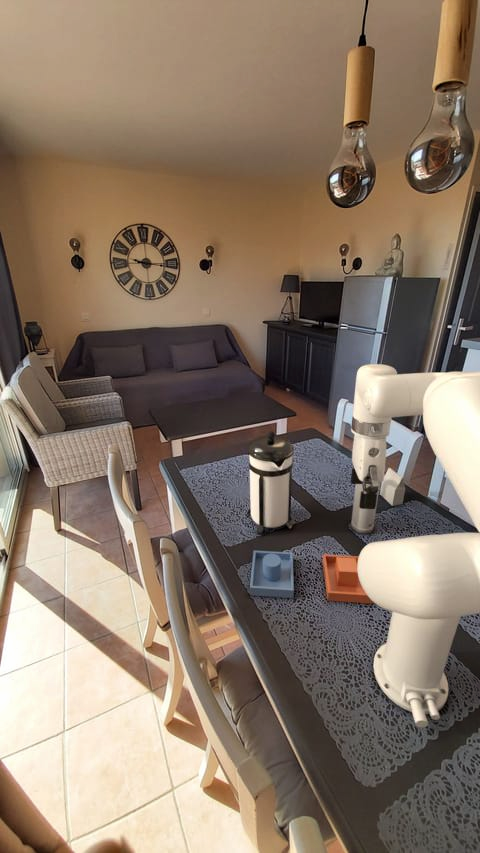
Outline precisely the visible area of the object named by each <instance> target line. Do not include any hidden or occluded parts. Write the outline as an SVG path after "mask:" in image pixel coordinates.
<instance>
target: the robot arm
mask: <svg viewBox="0 0 480 853" xmlns="http://www.w3.org/2000/svg"><path fill="white" fill-rule="evenodd" d="M412 416H422V424H423V428H424V432H425V435H426V438H427V440H428V442H429V445H430V447H431V449H432V451H433V453H434V455H435V457H436V458H437V460H438V462H439V464H440V465H441V467H442V469H443V471H444V473H445V474H446V476H447V478H448V480H449V481H450V483H451V485H452V487H453V488H454V490H455V492H456V494H457V496H458V498H459V499H460V501H461V503H462V504H463V506H464V509H465V510H466V512H467V513H468V515H469V517H470V519H471V522H472V523H473V524H474V526H475V528H476V530H477V531H478V532H452V533H444V534H427V535H419V536H410V537H404V538H396V539H389V540H387V539H386V540H379V541H372V542H369V543H368V544H366V545H365V546H364V547H363V548H362V549H361V551H360V553H359V555H358V556H359V558H358V563H357V572H358V577H359V581H360V583H361V586H362V588H363V590H364V591H365V593H366V594H367V595H368V597H369V598H370V599H371V600H372V601H373V602H374V603H373V604H375V605H376V606H378V607H380V608H382V609H384V610H386V611H390V612H391V619H390V621H389V628H388V632H387V633H388V634H387V637H386V643H383V644H382V645H381V646H379V648H377V650H376V652H375V654H374V657H373V664H372V665H373V666H372V667H373V674H374V677H375V680H376V682H377V684H378V685H379V688H380V689H381V690H382V692H383V693H384V695H386V697H387V698H388V699H389V700H391V702H393V703H394V704H395V705H397V706H398V707H400V708H401V709H403V710H405V711H408V712H411V713H412V717H413V720H414V723H415V726H416V727H418V728H420V729H421V728H423V729H424V728H426V727H428V726H429V722H428V719H427V715H429V716H430V718H431V719H432V720H434V721H437V720H439V719H441V716H440V713H439V711H440V710H441V709H442V708H443V707H444V706H445V704H446V702H447V699H448V697H449V682H448V679H447V675H446V674H445V668H446V664H447V661H448V658H449V655H450V651H451V649H452V648H451V647H452V645H453V641H454V638H455V635H456V632H457V629H458V627H459V626H458V625H459V623H460V621H461V618H462V617H464V616H472V615H477V614H480V371H448V372H415V373H399V374H398V372H397V370H396V369H395V367H393V366H390V365H387V364H381V363H370V364H364V365H361V366H360V367H359V368H358V369H357V372H356V376H355V387H354V396H353V406H352V416H351V417H352V418H351V427H350V431H351V433H352V434H353V435H354V436H353V443H352V452H351V461H352V468H351V475H350V484H352V485H356V484H362V487H363V491H361V496H360V504H359V507H360V508H361V509H375V507H376V500H377V494H378V495H379V493H378V487H379V488H380V486H379V482H380V483H382V482H383V480H384V476H385V474H386V472H385V471H386V461H387V460H386V459H387V437H389V435H390V432H391V431H390V430H391V423H392V418H400V417H401V418H402V417H412ZM366 476H370V479H366ZM366 482H371V484H370V486H368V487H367V488H366ZM377 501H378V500H377ZM376 508H377V507H376Z"/></svg>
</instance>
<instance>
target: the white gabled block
mask: <svg viewBox="0 0 480 853" xmlns="http://www.w3.org/2000/svg"><path fill="white" fill-rule="evenodd" d="M380 485H381V486H380V492H379V495H380V496H381V497H382V498H383V499H384V500H386V502H387V503H388V504H390V506H392V507H394V506H400V505H403V504H404V498H405V493H406V486H405V483H404V477H402V476H401V475H399V473H397V472H396V471H395V470H394V469H393V468H391V467H388V468H387V471H386V472H385V473H384V480H383V482H381V484H380Z"/></svg>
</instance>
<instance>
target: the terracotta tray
mask: <svg viewBox="0 0 480 853" xmlns="http://www.w3.org/2000/svg"><path fill="white" fill-rule="evenodd" d="M336 557H342V558H356V562H357V563H358V558H359V555H344V554H343V555H342V554H341V555H339V554H326V553H325V554H322V561H321V562H322V568H323V576H324V584H325V590H326V597H327V598H326V599H327V601H328V602H342V603H343V602H344V603H356V604H358V603H359V604H372V605H374V604H375V603H374V602H373V601H372V600H371V599H370V598H369V597H368V595H367V594H366V593H365V591H364V590H363V588H362V586H361V583H360V581H359V577H358V584H357V587H350V586H337V580H336V574H335V566H336Z"/></svg>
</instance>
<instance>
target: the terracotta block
mask: <svg viewBox="0 0 480 853" xmlns="http://www.w3.org/2000/svg"><path fill="white" fill-rule="evenodd" d="M335 574H336V580H337V586H350V587H357V584H358V572H357V562H356V558H342V557H336V566H335Z"/></svg>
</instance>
